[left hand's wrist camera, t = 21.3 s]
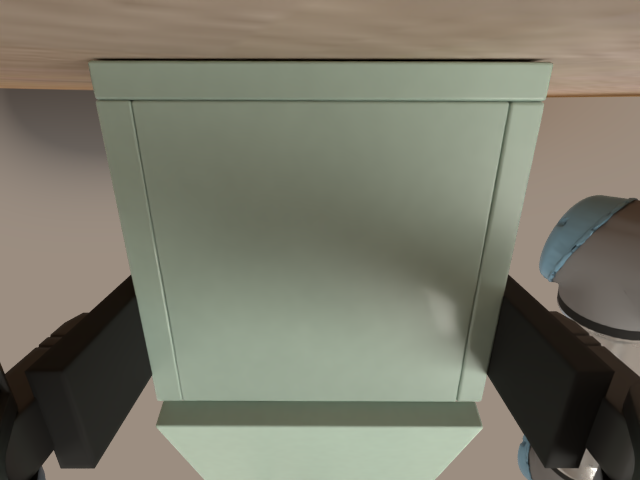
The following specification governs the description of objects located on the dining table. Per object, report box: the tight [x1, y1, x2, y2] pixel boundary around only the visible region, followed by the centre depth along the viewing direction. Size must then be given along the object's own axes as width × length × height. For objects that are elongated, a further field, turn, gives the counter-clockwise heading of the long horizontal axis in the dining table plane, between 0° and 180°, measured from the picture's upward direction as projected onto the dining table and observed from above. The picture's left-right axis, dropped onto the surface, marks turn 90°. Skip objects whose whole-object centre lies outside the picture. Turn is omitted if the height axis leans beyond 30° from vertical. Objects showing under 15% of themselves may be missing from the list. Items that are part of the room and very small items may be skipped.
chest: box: [88, 60, 553, 402], centre depth 15 cm, size 13×10×10 cm
